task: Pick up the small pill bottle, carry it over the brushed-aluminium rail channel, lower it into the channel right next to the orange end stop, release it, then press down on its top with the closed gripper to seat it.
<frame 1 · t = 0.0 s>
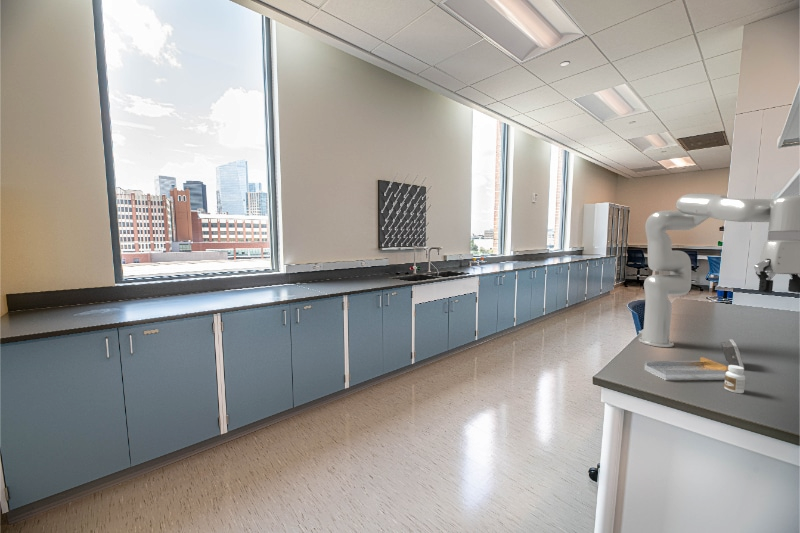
hand: (780, 292, 102), 31 cm above the worktop, tool pointing down, fingers open, 9 cm apart
electrical switch: (731, 365, 123), on the worktop
pill bottle: (733, 391, 103), on the worktop
rail: (684, 374, 115), on the worktop
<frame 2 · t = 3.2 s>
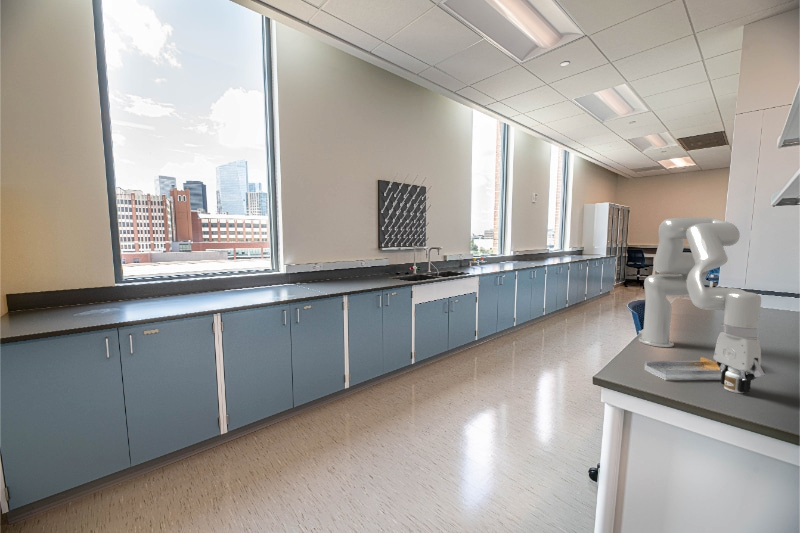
hand: (734, 387, 103), 1 cm above the worktop, tool pointing down, fingers closed on pill bottle, 4 cm apart
pill bottle: (733, 390, 103), on the worktop, touching gripper
everything else where it was.
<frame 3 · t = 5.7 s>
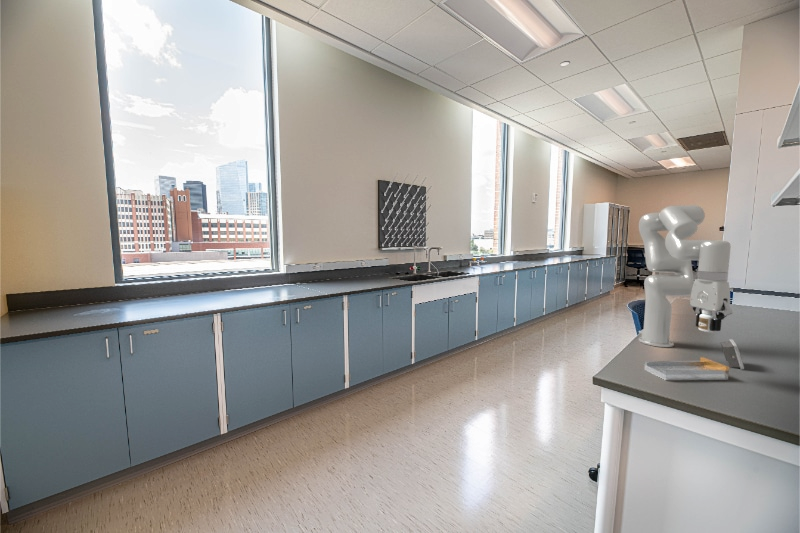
hand: (707, 328, 113), 17 cm above the worktop, tool pointing down, fingers closed on pill bottle, 4 cm apart
pill bottle: (706, 331, 114), point 16 cm above the worktop, touching gripper
everything else where it was.
when the fingers open (4 cm above the worktop, at t = 8.3 s): pill bottle stays where it is, resting on rail.
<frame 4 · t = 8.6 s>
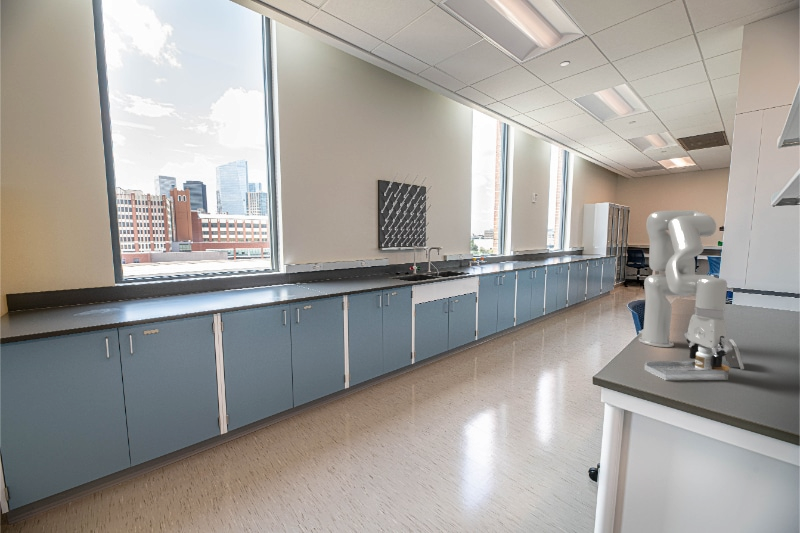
hand: (704, 362, 115), 4 cm above the worktop, tool pointing down, fingers open, 7 cm apart
pill bottle: (703, 369, 115), point 2 cm above the worktop, touching rail
everything else where it was.
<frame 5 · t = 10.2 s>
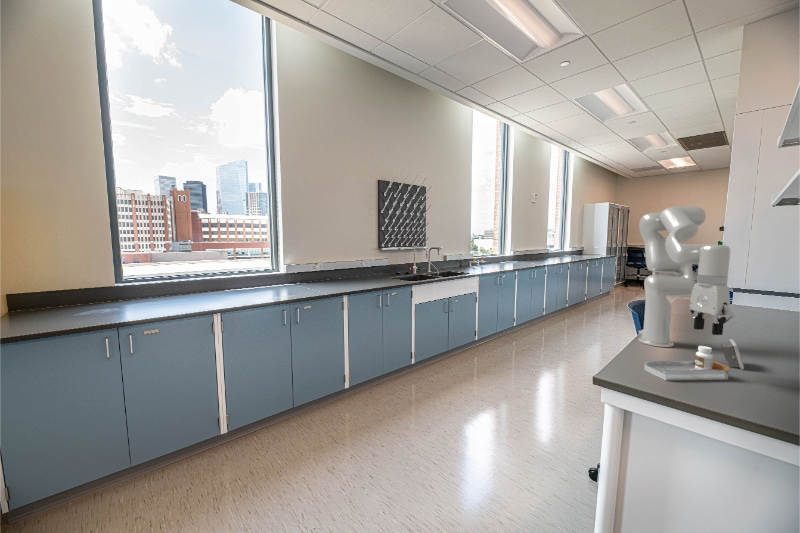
hand: (707, 331, 114), 16 cm above the worktop, tool pointing down, fingers open, 5 cm apart
nothing on the worktop moved.
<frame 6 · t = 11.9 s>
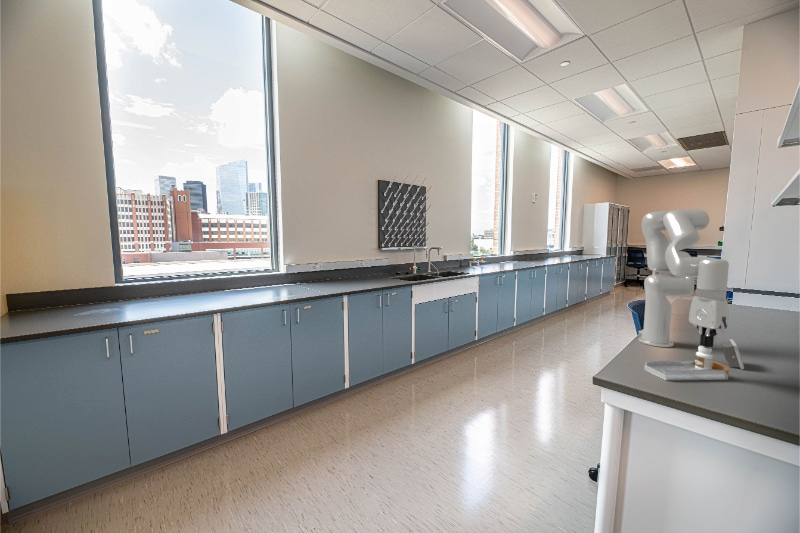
hand: (706, 346, 114), 10 cm above the worktop, tool pointing down, fingers closed
nothing on the worktop moved.
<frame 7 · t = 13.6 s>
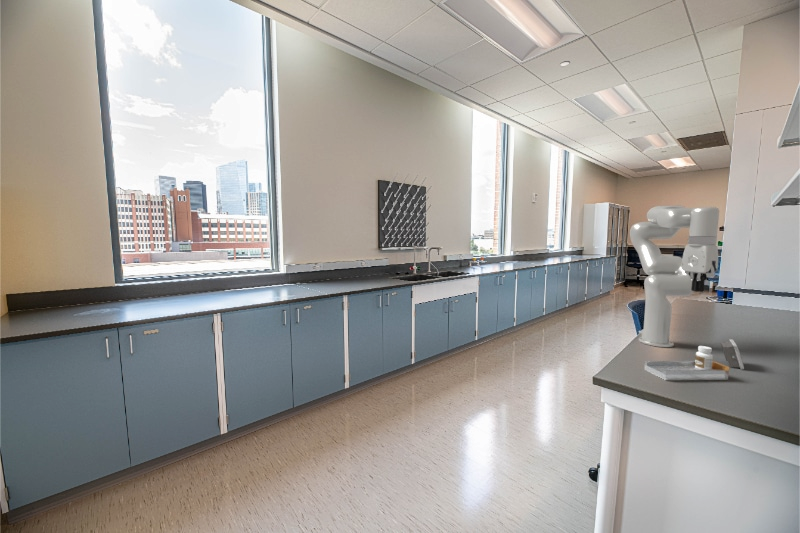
hand: (697, 291, 120), 28 cm above the worktop, tool pointing down, fingers closed
nothing on the worktop moved.
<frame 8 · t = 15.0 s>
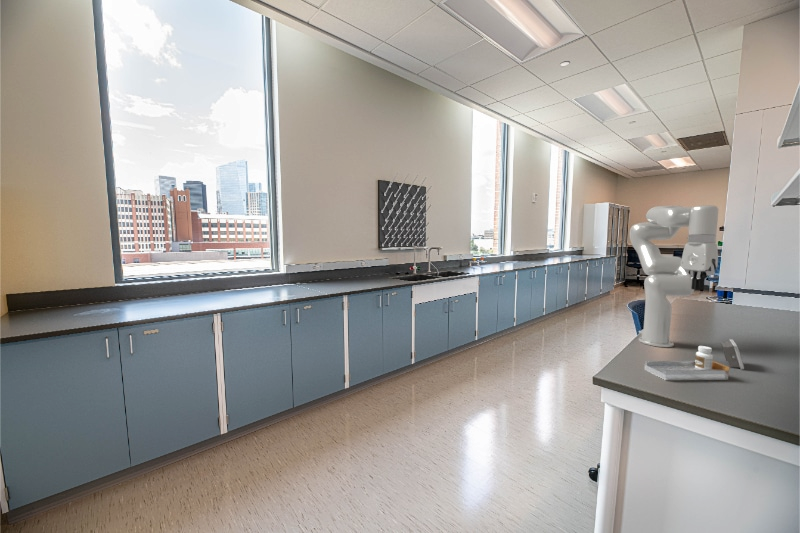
hand: (697, 289, 120), 29 cm above the worktop, tool pointing down, fingers closed
nothing on the worktop moved.
at the end: pill bottle inside the target area (0.2 cm from its centre), point 1.8 cm above the worktop; pill bottle tilted 0° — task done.
